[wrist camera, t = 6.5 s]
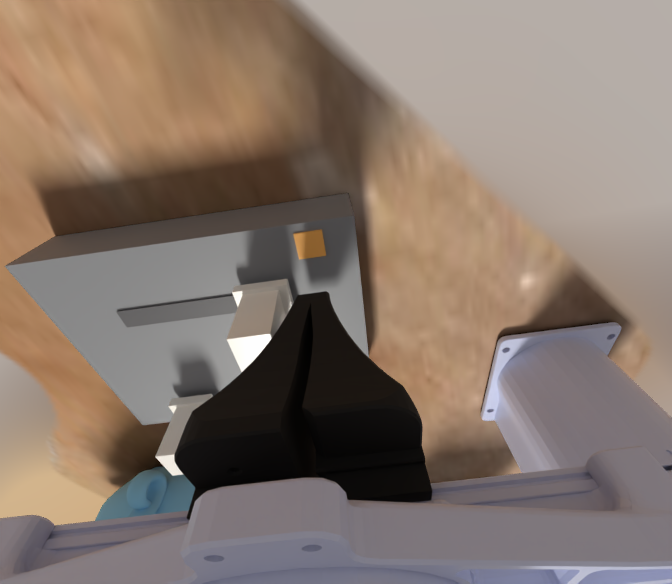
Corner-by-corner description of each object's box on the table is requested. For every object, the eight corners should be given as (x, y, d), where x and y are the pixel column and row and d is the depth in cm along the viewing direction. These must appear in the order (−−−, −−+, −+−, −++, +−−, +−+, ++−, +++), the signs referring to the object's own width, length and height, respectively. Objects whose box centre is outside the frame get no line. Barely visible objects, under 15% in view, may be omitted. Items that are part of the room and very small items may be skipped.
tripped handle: (298, 319, 15) (293, 373, 12) (250, 326, 15) (235, 380, 12) (287, 278, 14) (279, 328, 11) (234, 285, 14) (214, 336, 11)
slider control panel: (366, 361, 22) (373, 398, 19) (162, 387, 22) (141, 426, 20) (348, 193, 15) (354, 216, 12) (54, 236, 16) (2, 267, 13)
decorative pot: (239, 526, 38) (206, 714, 27) (98, 494, 31) (-23, 725, 20) (322, 472, 31) (326, 693, 20) (166, 417, 25) (42, 699, 13)
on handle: (225, 417, 19) (210, 473, 16) (188, 422, 19) (166, 478, 17) (211, 393, 18) (192, 450, 15) (171, 398, 18) (145, 455, 15)
